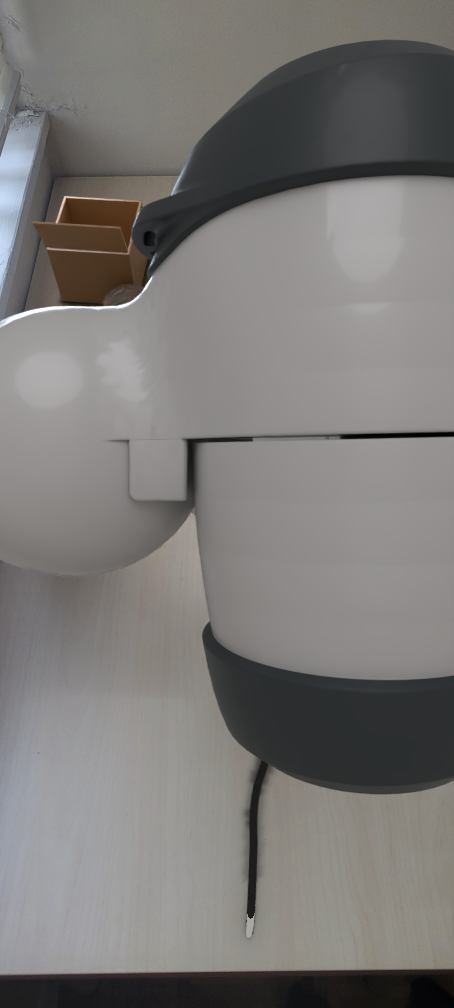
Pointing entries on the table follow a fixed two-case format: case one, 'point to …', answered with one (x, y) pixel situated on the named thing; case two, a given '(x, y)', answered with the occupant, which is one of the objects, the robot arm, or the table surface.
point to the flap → (81, 236)
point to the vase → (122, 294)
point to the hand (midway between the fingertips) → (37, 495)
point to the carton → (92, 269)
